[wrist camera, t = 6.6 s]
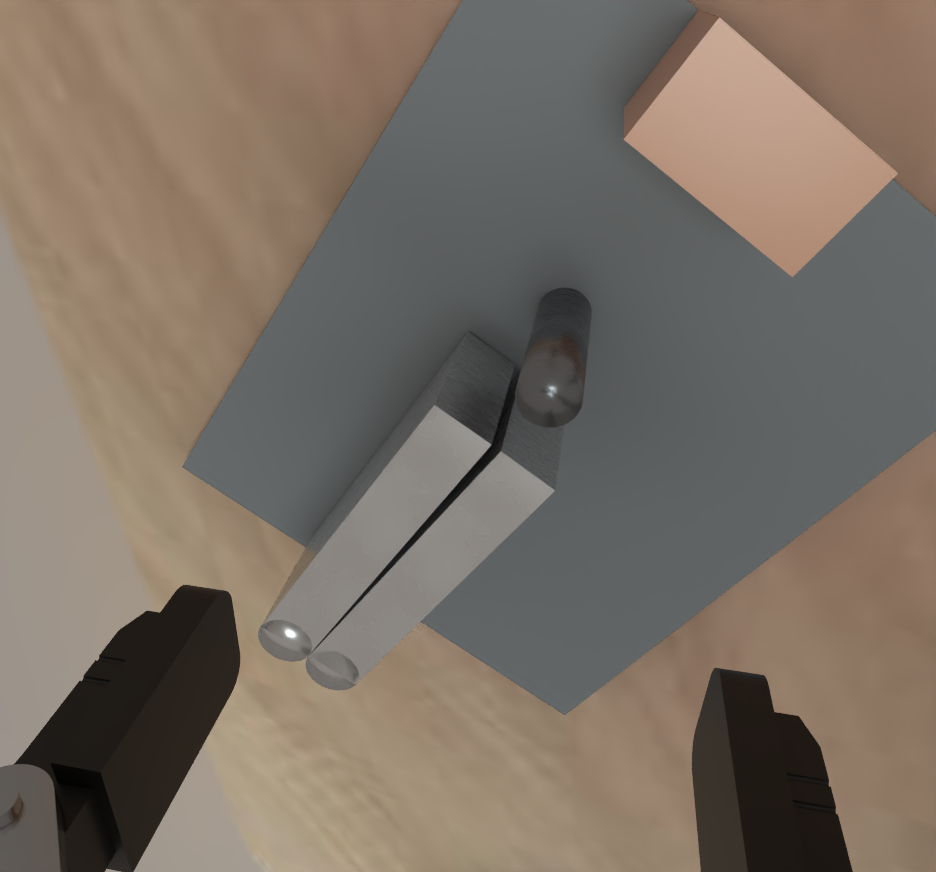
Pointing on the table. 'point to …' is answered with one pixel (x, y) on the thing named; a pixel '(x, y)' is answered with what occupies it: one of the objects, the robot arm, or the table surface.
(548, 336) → the post
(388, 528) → the jaw
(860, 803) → the table surface
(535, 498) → the bar
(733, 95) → the block
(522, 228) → the slate board
